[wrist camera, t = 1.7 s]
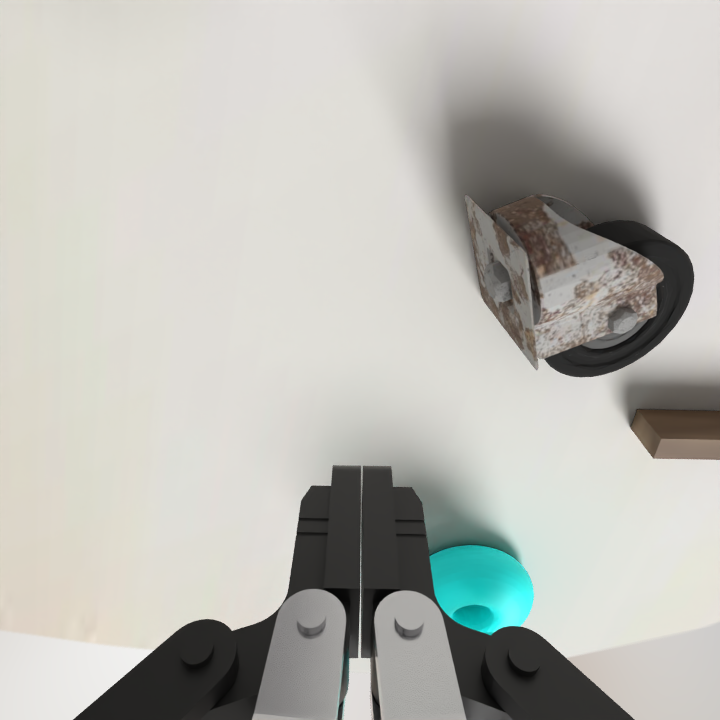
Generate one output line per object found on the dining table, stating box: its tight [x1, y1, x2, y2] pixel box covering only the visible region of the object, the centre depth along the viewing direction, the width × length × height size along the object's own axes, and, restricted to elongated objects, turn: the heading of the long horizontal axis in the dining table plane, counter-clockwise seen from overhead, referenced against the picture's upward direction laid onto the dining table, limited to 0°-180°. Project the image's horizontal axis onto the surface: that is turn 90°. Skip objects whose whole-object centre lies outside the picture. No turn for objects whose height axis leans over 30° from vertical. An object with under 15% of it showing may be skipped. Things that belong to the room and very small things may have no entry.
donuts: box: [429, 545, 534, 635], centre depth 37 cm, size 10×10×10 cm
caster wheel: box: [465, 194, 694, 377], centre depth 26 cm, size 7×11×10 cm
